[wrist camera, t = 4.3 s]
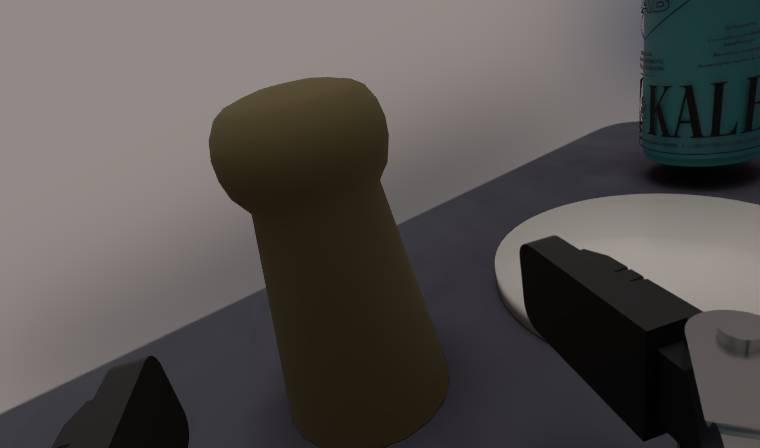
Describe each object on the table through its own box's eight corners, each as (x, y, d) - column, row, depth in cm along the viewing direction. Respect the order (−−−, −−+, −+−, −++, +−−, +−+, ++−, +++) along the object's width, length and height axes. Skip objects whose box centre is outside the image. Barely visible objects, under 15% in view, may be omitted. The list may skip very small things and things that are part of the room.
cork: (274, 373, 19) (173, 106, 14) (402, 314, 20) (345, 64, 16) (317, 487, 13) (177, 119, 9) (483, 394, 15) (430, 55, 11)
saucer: (627, 437, 13) (627, 410, 12) (455, 254, 25) (452, 238, 24) (985, 301, 14) (995, 274, 14) (662, 192, 26) (663, 175, 26)
